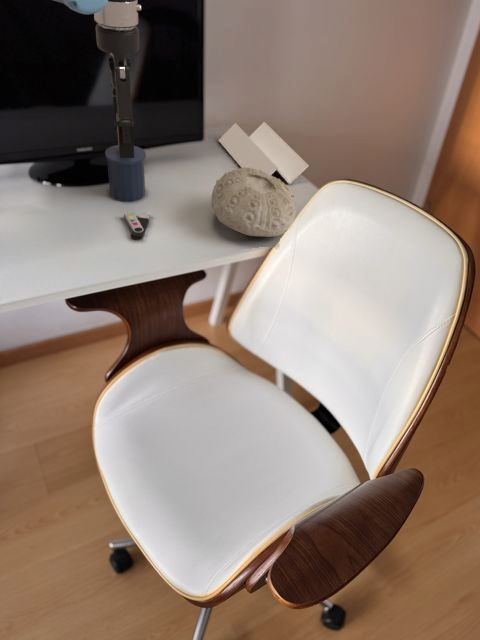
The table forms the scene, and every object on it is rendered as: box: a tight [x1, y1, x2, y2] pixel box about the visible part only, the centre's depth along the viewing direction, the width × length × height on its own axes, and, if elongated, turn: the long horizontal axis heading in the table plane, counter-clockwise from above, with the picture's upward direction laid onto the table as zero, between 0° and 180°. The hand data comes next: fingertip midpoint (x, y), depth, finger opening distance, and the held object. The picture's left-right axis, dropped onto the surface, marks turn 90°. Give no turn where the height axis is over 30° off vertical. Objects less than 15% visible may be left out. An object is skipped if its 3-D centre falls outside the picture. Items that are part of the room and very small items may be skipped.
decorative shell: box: [210, 167, 297, 238], centre depth 112 cm, size 18×18×10 cm
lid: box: [104, 113, 147, 165], centre depth 111 cm, size 8×8×9 cm
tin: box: [106, 158, 146, 203], centre depth 116 cm, size 7×7×8 cm
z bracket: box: [218, 121, 309, 185], centre depth 136 cm, size 12×25×6 cm
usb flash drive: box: [123, 212, 151, 240], centre depth 110 cm, size 9×5×1 cm, turn 177°
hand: (124, 142), depth 111 cm, fingers open, 12 cm apart
